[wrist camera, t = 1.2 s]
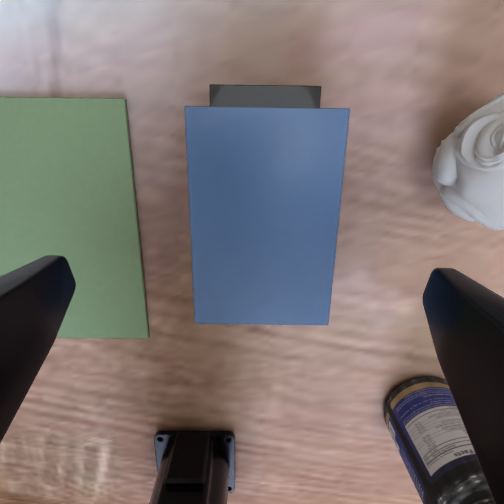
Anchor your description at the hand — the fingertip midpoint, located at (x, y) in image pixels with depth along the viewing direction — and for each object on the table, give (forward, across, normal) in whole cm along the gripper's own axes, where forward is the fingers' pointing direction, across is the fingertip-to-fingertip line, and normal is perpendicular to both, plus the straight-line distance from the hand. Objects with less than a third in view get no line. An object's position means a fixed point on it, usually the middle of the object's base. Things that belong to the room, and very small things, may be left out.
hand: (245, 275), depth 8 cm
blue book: (+10, 0, +4) cm, 11 cm away
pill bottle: (+10, -13, +20) cm, 26 cm away
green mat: (+12, +14, +6) cm, 19 cm away
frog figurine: (+15, -12, +2) cm, 19 cm away
